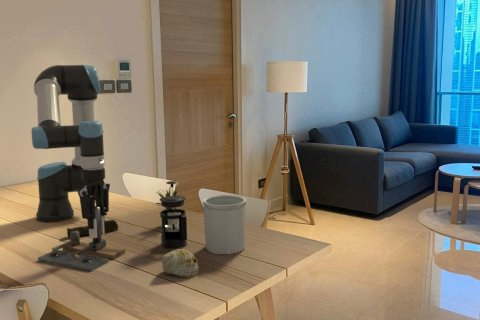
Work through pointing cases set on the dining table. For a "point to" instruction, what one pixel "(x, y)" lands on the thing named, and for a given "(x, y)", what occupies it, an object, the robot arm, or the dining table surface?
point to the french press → (173, 233)
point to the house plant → (170, 221)
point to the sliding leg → (96, 242)
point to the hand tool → (108, 227)
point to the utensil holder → (224, 223)
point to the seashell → (180, 263)
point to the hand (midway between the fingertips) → (97, 235)
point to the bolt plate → (73, 260)
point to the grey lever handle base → (77, 245)
